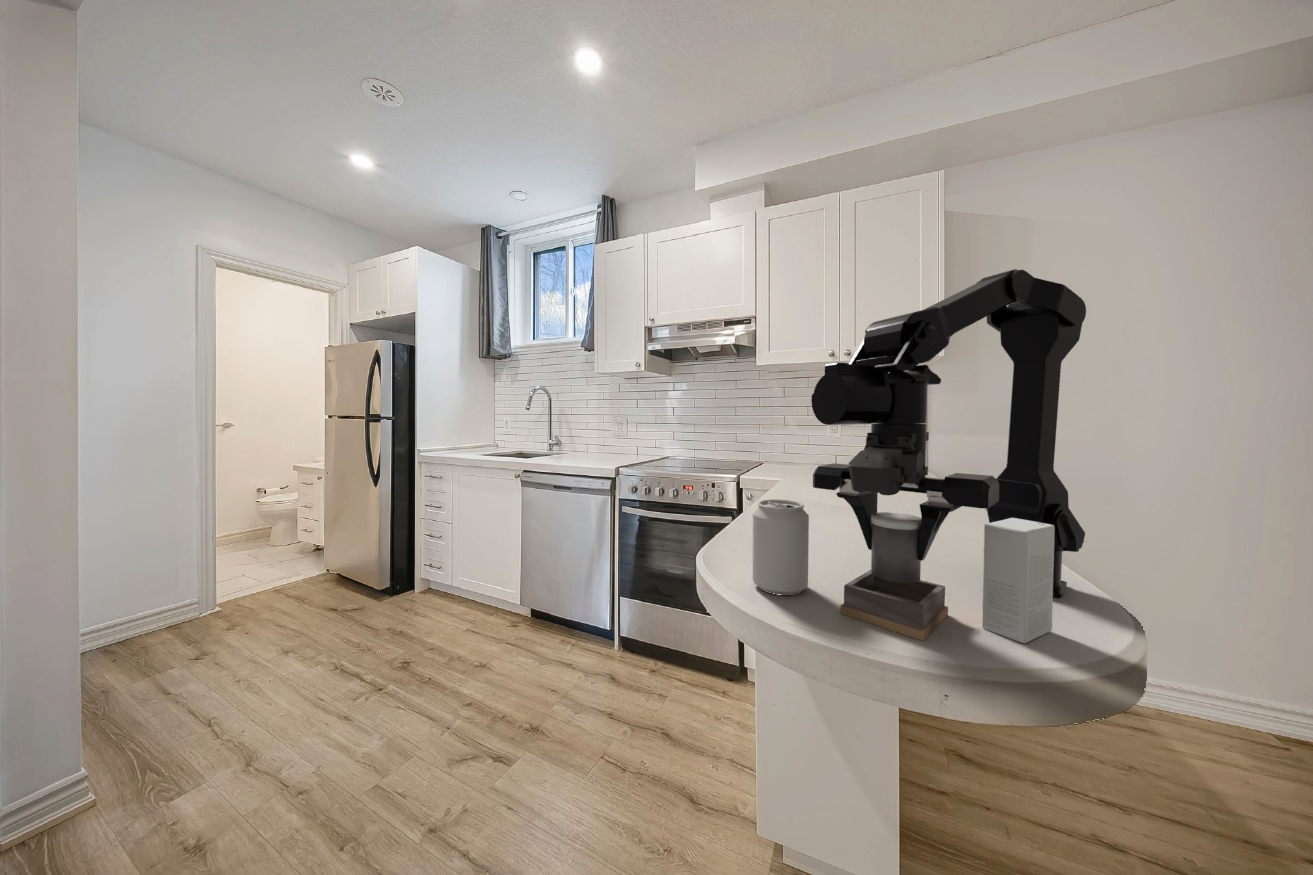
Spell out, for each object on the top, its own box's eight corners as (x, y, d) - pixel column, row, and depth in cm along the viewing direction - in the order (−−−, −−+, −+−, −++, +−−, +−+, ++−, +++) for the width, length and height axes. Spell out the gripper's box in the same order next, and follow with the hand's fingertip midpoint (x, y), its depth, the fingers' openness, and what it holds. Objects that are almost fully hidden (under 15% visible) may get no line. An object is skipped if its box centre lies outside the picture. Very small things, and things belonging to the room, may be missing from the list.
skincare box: (1008, 616, 53) (1011, 516, 52) (1052, 632, 49) (1057, 524, 49) (979, 628, 50) (982, 522, 50) (1024, 645, 46) (1028, 531, 46)
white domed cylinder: (880, 564, 57) (881, 510, 57) (927, 575, 53) (929, 517, 53) (862, 574, 54) (863, 517, 53) (912, 587, 50) (913, 525, 49)
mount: (870, 593, 60) (871, 567, 60) (947, 614, 54) (948, 586, 53) (840, 613, 54) (840, 585, 54) (923, 641, 47) (924, 608, 47)
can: (811, 600, 58) (812, 508, 57) (752, 596, 59) (753, 506, 59) (804, 579, 65) (805, 498, 65) (752, 576, 67) (752, 496, 66)
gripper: (790, 424, 54) (789, 551, 55) (976, 426, 40) (971, 596, 41) (833, 422, 62) (832, 534, 62) (1002, 424, 48) (997, 567, 49)
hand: (895, 554), depth 53 cm, fingers closed on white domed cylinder, 5 cm apart
